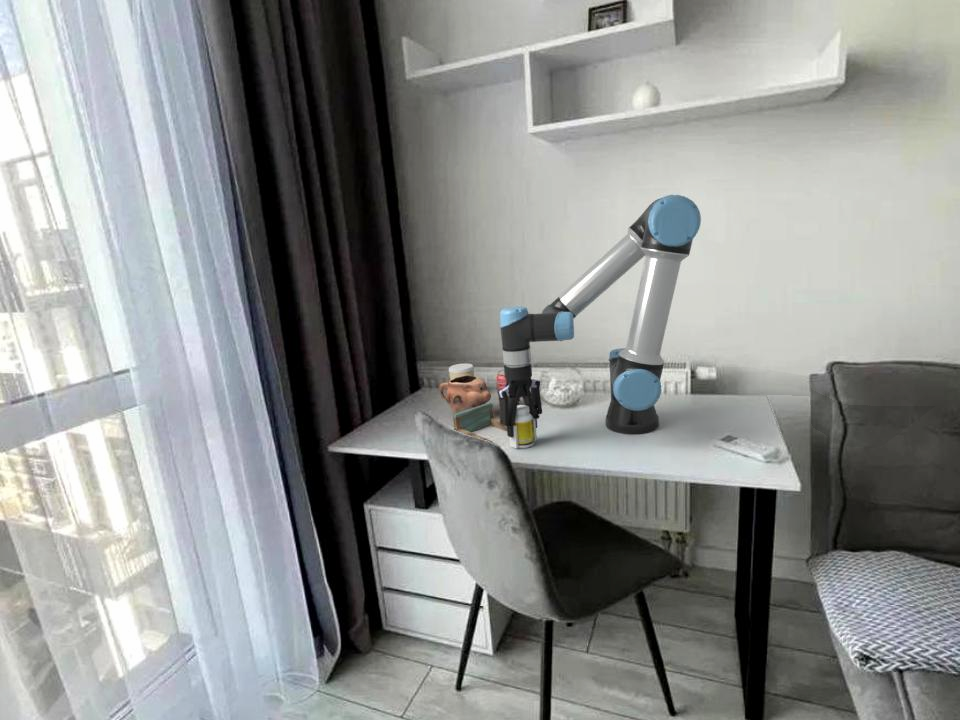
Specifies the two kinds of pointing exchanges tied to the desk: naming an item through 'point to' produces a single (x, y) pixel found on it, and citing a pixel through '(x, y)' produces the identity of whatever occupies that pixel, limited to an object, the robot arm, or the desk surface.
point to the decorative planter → (465, 393)
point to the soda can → (502, 382)
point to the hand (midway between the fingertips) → (523, 443)
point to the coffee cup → (461, 370)
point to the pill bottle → (524, 427)
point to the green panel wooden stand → (476, 420)
